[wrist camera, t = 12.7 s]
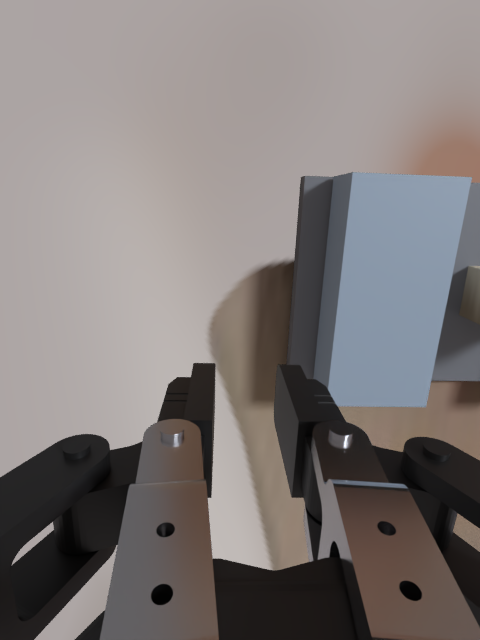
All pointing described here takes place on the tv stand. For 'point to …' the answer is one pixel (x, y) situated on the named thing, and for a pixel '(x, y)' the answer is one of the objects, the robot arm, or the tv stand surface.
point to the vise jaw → (387, 285)
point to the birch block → (471, 295)
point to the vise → (311, 242)
